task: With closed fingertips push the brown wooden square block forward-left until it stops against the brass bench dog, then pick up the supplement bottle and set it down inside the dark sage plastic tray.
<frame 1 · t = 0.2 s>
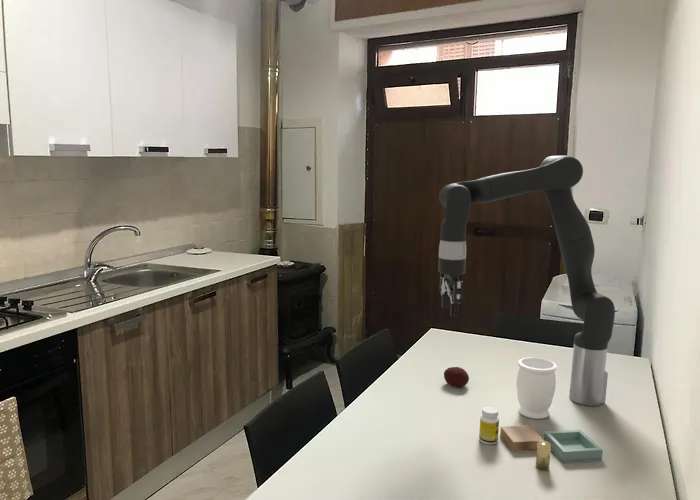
hand: (449, 312, 157), 28 cm above the table, fingers open, 8 cm apart
supplement bottle: (488, 441, 142), on the table
bench dog: (542, 467, 130), on the table
potato: (456, 386, 177), on the table
tray: (571, 450, 137), on the table
jar: (533, 413, 158), on the table
brown wooden square block: (521, 444, 141), on the table
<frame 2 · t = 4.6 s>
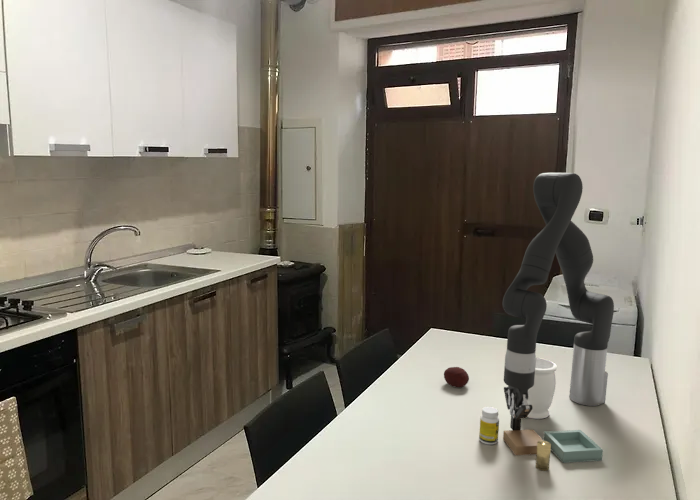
hand: (515, 429, 144), 2 cm above the table, fingers closed
brown wooden square block: (524, 448, 139), on the table, touching gripper
everything else where it was.
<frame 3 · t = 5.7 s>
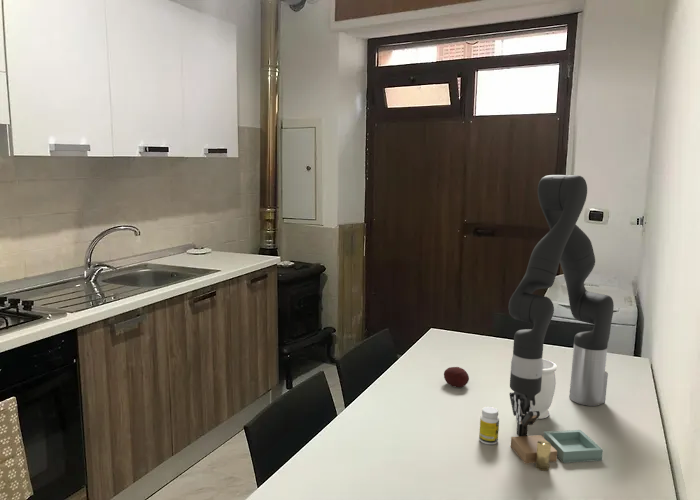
hand: (521, 436, 141), 2 cm above the table, fingers closed
brown wooden square block: (532, 455, 136), on the table
everything else where it was.
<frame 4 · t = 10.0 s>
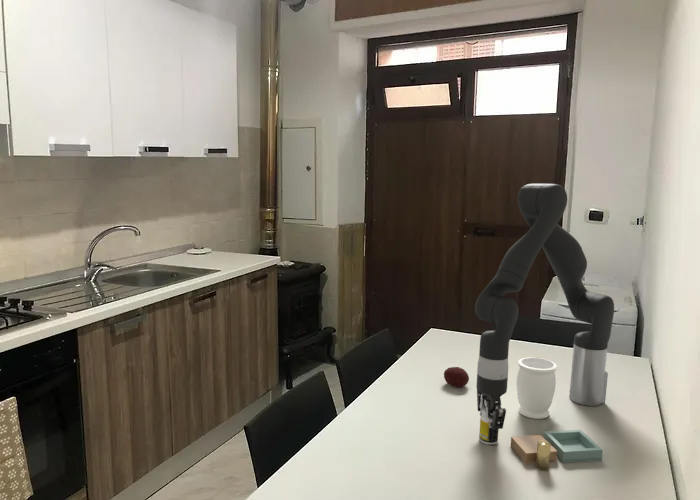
hand: (488, 435, 142), 1 cm above the table, fingers closed on supplement bottle, 4 cm apart
supplement bottle: (488, 441, 142), on the table, touching gripper
everything else where it was.
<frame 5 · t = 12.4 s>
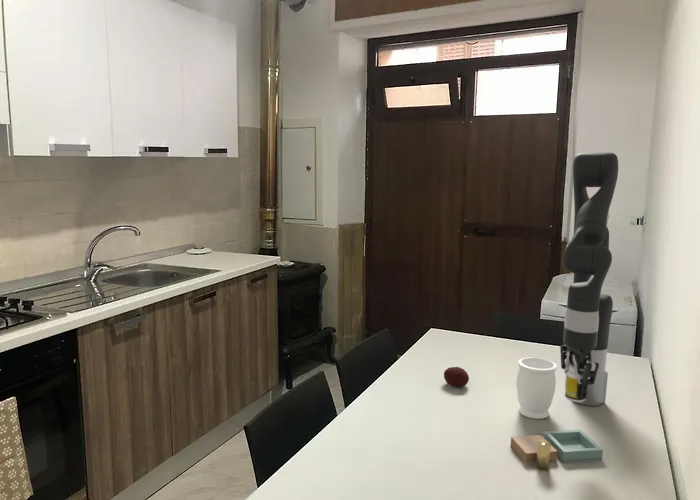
hand: (575, 393, 135), 15 cm above the table, fingers closed on supplement bottle, 4 cm apart
supplement bottle: (574, 399, 136), point 14 cm above the table, touching gripper
everything else where it was.
when the fingers open (3 cm above the table, at t = 15.1 s): supplement bottle drops 1 cm, resting on tray.
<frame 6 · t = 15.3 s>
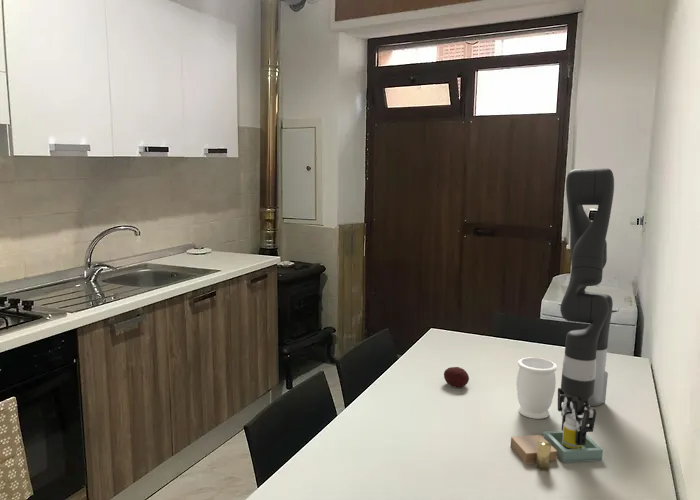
hand: (572, 437, 137), 4 cm above the table, fingers open, 6 cm apart
supplement bottle: (571, 449, 137), resting on tray
everything else where it was.
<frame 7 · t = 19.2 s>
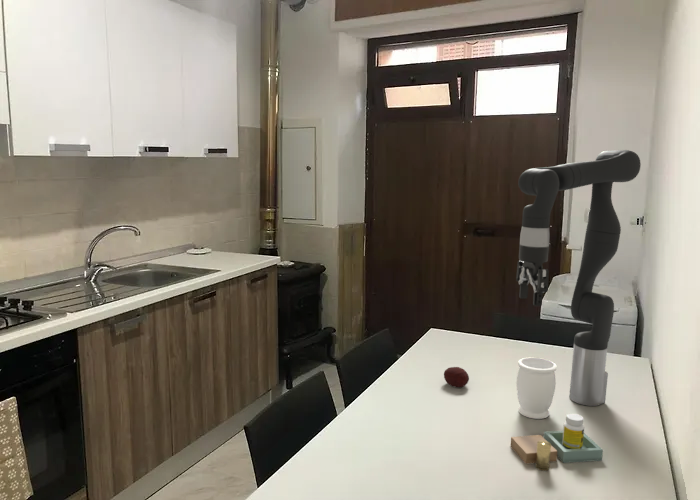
hand: (530, 302, 151), 33 cm above the table, fingers open, 8 cm apart
nothing on the table moved.
at the end: brown wooden square block 0.8 cm from the target spot, on the table; supplement bottle 0.0 cm off-centre on the tray, point 0.4 cm above the tray's base; supplement bottle tilted 0° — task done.
